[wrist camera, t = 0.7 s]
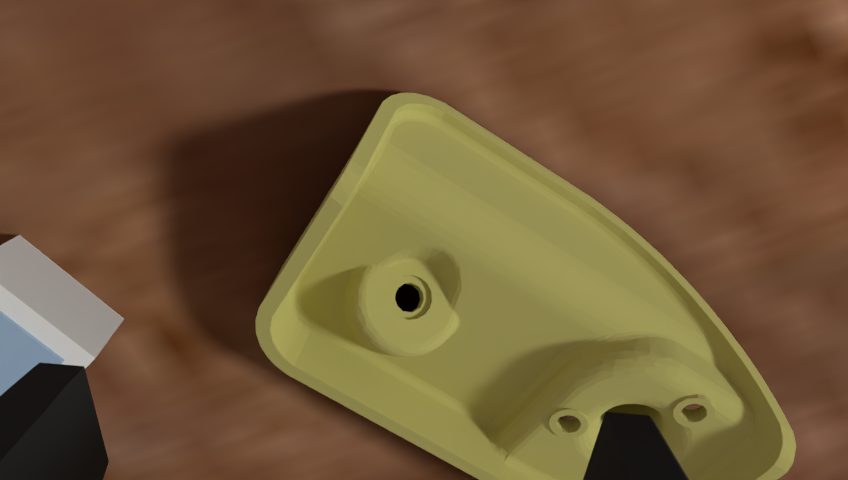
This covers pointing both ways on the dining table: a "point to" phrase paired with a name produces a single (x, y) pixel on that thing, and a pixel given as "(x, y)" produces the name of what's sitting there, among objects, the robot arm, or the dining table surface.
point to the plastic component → (506, 314)
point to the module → (46, 314)
